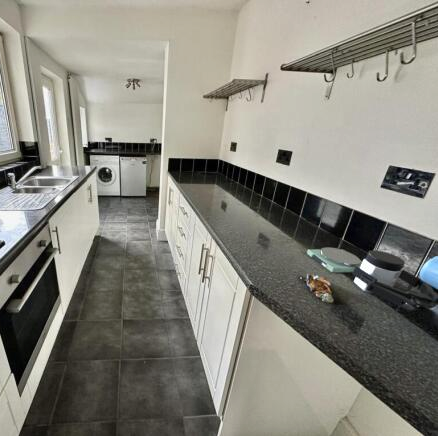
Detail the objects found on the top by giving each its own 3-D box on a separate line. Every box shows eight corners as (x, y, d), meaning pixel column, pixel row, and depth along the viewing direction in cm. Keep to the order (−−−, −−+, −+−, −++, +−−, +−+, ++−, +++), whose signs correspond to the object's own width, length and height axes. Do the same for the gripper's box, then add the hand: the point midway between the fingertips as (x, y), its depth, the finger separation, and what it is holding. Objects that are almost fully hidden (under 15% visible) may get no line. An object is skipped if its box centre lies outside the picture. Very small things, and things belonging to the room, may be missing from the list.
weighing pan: (340, 249, 93) (341, 247, 93) (368, 266, 82) (369, 264, 82) (312, 249, 93) (313, 247, 92) (336, 266, 82) (337, 264, 81)
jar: (379, 300, 70) (397, 267, 65) (348, 284, 77) (362, 253, 72) (393, 292, 74) (411, 260, 69) (363, 278, 80) (377, 248, 76)
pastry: (318, 303, 68) (322, 293, 67) (298, 278, 79) (301, 269, 78) (343, 305, 67) (348, 295, 66) (319, 280, 78) (323, 271, 77)
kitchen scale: (340, 254, 95) (343, 249, 94) (370, 273, 83) (373, 267, 82) (305, 254, 94) (307, 249, 93) (330, 273, 82) (333, 268, 81)
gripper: (405, 336, 55) (333, 280, 74) (500, 334, 56) (405, 279, 76) (421, 312, 52) (342, 260, 71) (520, 310, 53) (416, 260, 73)
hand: (374, 270), depth 74 cm, fingers open, 13 cm apart
